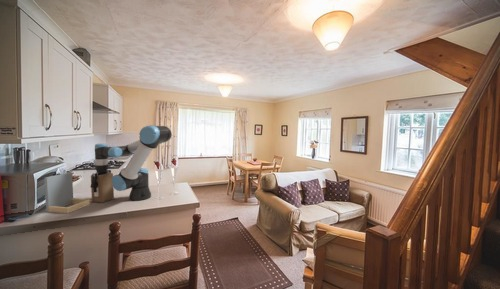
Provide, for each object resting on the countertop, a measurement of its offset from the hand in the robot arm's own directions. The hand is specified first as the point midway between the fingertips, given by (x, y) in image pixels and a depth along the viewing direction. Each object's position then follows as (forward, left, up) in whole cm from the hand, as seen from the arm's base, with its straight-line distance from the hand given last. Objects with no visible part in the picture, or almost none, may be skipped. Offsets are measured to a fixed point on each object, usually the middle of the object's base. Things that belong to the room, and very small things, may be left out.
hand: (102, 193), depth 150 cm
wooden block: (0, 0, -5) cm, 5 cm away
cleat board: (+11, +16, -5) cm, 20 cm away
